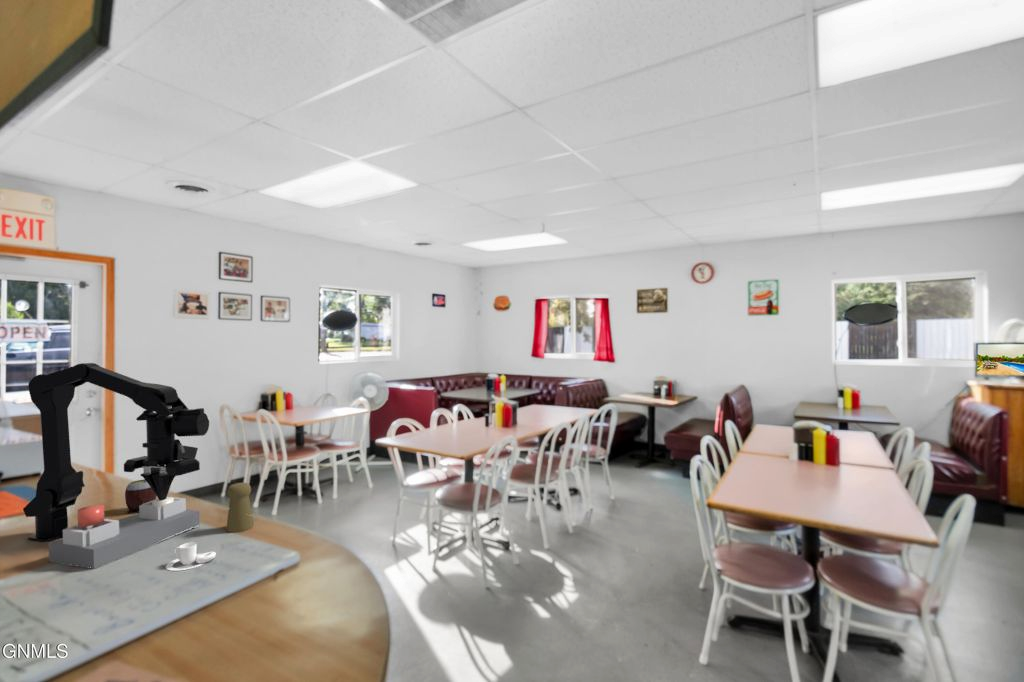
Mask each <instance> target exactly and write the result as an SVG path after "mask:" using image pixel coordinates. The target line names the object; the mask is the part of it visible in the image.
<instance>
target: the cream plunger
mask: <svg viewBox="0 0 1024 682" xmlns="http://www.w3.org/2000/svg"><path fill="white" fill-rule="evenodd" d="M173 497H174V496H167V497H166V499H165V500H159V499H158V498H156V499H155V500H153V501H152V505H155V506H162V505H165V504H168V503H171V502H174V498H173Z"/></svg>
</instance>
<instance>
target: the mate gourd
mask: <svg viewBox="0 0 1024 682" xmlns="http://www.w3.org/2000/svg"><path fill="white" fill-rule="evenodd" d="M124 491H125V492H124V496H125V497H124V498H125V499H124V500H125V504H126V507H127V511H126V512H127V514H130V513H135V512H139V506H140V505H142V504H144V503H147V502H150V501H153V500H155V499H157V496H156V494H155V493H154V491H153V490H152V488H151V487H150V485H149V484H148V483H147V481H146V480H145V479H144V478H143V479H138V480H137V479H136V480H133V481H132V482H129V483H128V484H127V485H126V487H125V490H124Z"/></svg>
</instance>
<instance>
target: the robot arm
mask: <svg viewBox="0 0 1024 682" xmlns="http://www.w3.org/2000/svg"><path fill="white" fill-rule="evenodd" d="M86 383H89V384H92V385H94V386H97V387H100V388H103V389H105V390H108V391H111V392H114V393H117V394H119V395H122V396H124V397H127V398H129V399H131V401H132V402H133V403H134V404H135V405H137V406H139V408H142V409H143V412H142V413H141V414H140V415H138V416H137V417H136V418H135V419H136V421H138V422H139V421H145V422H146V425H145V428H146V442H142V448H145V449H146V453H147V454H146V455H143V456H138V457H134V458H130V459H126V461H125V462H124V463H123V472H125V473H134V472H135V470H137V469H143V472H142V473H140V477H142V478H143V480H144V479H145V480H146V481H147V483H148V484H149V485H150V487H151V488H152V490H153V491H154V493H155V494H156V498H157V499H159V500H165V499H166V497H168V494H169V492H170V489H171V485H172V482H174V479H175V477H176V476H177V477H178V476H182V475H186V474H190V473H193V472H197V471H200V470H201V469H200V468H201V467H200V461H199V460H198V459H196V457H197V452H198V447H197V446H196V447H194V446H188V445H184V444H182V442H181V441H180V439H179V438H176V436H177V437H198V436H199V437H200V436H201V437H202V436H205V435H206V434H207V433H208V431H209V428H210V420H209V417H208V415H207V414H206V413H205V408H204V407H203V408H202V407H199V408H191V409H190V408H189V407H188V406H187V405H186V404H185V403H184V402H183V401H182V400H181V398H180V397H179V395H178V393H177V389H175V388H174V387H173V386H170V385H165V384H159V383H153V382H152V383H150V382H145V381H144V382H143V381H141V380H138V379H135V378H132V377H129V376H126V375H124V374H122V373H119V372H116V371H113V370H110V369H108V368H105V367H102V366H101V365H99V364H97V363H94V362H86V363H77V364H75V365H73V366H70V367H68V368H67V367H66V368H64V369H61V370H57V371H54V372H51V373H42V374H41V373H40V374H36V375H35V376H33V377H32V379H30V380H29V381H28V386H27V388H28V392H29V396H30V401H31V402H32V403H33V405H34V406H35V407H36V408H37V409H38V410H39V412H40V427H41V428H40V429H41V441H42V445H41V446H42V458H43V471H42V473H41V475H40V477H39V479H38V481H37V483H36V489H35V497H34V498H32V499H31V500H30V501H29V502H28V503H27V504H26V505H25V506H24V507H23V508H22V509H23V513H24V515H25V518H29V517H30V518H32V517H34V524H35V534H33V535H30V536H27V540H31V541H37V542H48V541H51V540H54V539H56V538H60V537H63V530H64V529H67V528H68V527H69V516H68V507H70V506H74V505H76V501H77V500H78V497H79V496H80V495H81V493H82V492H83V488H84V487H85V486H86V485H85V482H84V480H83V479H84V472H83V470H79V471H76V469H75V468H74V467H73V465H72V458H71V457H72V456H71V441H70V428H69V427H70V426H69V425H70V424H69V413H68V409H69V407H70V405H71V402H72V401H73V399H74V397H75V391H76V390H75V389H76V388H78V387H80V386H82V385H85V384H86ZM175 435H176V436H175Z"/></svg>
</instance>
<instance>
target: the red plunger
mask: <svg viewBox="0 0 1024 682" xmlns="http://www.w3.org/2000/svg"><path fill="white" fill-rule="evenodd" d="M104 519H105V505H104V504H95V505H89V506H88V505H87V506H84V507H82V508H78V509H77V524H78V526H80V527H84V526H91V525H96V524H99V523H102V522H103V521H104Z"/></svg>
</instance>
